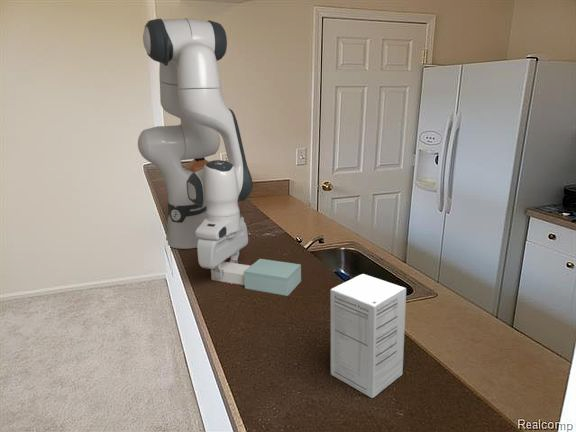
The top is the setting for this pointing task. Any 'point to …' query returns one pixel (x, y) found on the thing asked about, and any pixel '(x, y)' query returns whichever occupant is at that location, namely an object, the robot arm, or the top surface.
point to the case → (272, 276)
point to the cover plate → (231, 273)
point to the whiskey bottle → (196, 164)
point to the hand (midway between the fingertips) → (226, 271)
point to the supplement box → (367, 333)
